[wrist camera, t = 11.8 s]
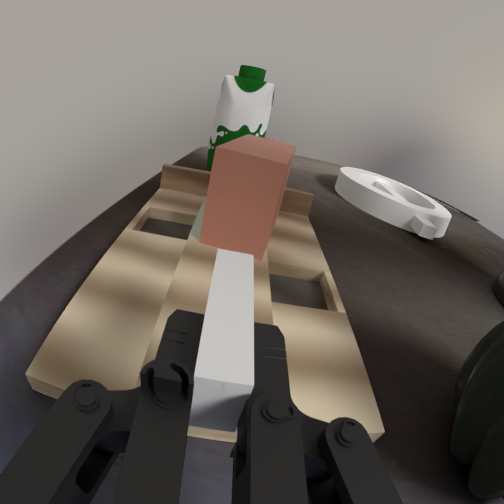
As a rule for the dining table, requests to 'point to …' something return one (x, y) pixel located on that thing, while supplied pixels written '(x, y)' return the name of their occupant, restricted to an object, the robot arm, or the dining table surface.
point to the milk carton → (241, 108)
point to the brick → (245, 194)
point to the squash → (482, 416)
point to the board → (195, 300)
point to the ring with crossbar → (393, 202)
